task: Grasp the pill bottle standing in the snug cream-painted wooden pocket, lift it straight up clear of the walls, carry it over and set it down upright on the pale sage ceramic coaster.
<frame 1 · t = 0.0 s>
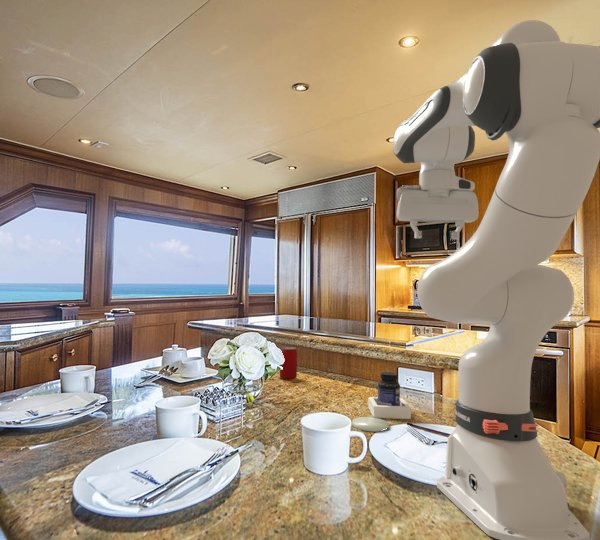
hand: (436, 238, 100), 48 cm above the kitchen island, fingers open, 8 cm apart
coaster: (370, 425, 99), on the kitchen island
pill bottle: (388, 413, 110), resting in pocket
pocket: (388, 412, 110), on the kitchen island
beverage can: (288, 379, 153), on the kitchen island
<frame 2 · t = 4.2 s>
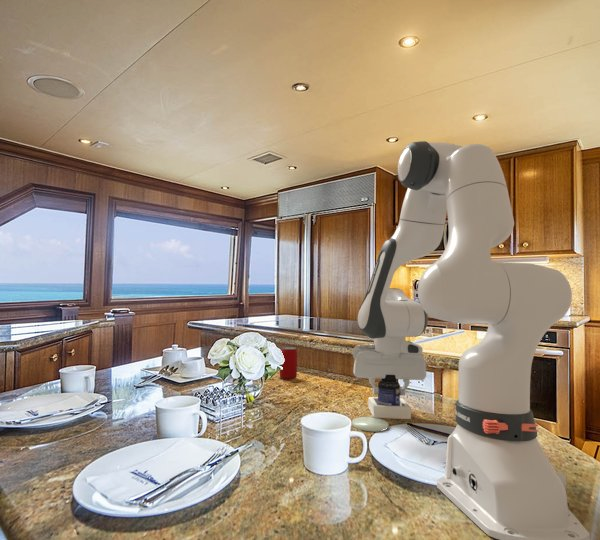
hand: (388, 394, 111), 5 cm above the kitchen island, fingers closed on pill bottle, 6 cm apart
pill bottle: (388, 413, 110), resting in pocket, touching gripper
everything else where it was.
when the fingers open (7 cm above the kitchen island, at t = 10.3 s): pill bottle drops 1 cm, resting on coaster.
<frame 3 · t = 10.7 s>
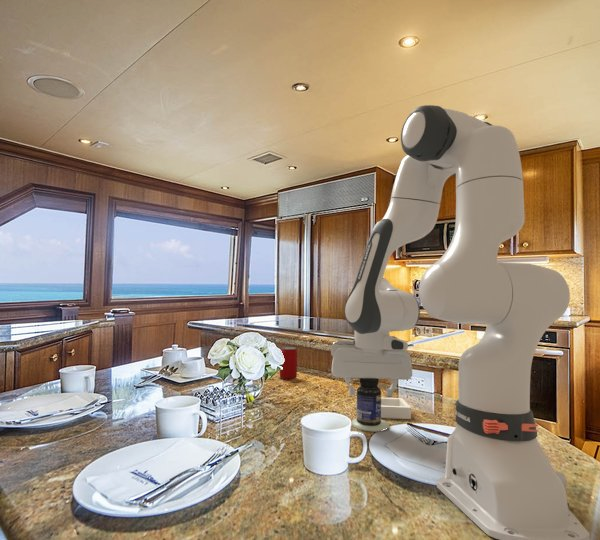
hand: (370, 396, 99), 7 cm above the kitchen island, fingers open, 8 cm apart
pill bottle: (368, 423, 98), point 1 cm above the kitchen island, touching coaster
everything else where it was.
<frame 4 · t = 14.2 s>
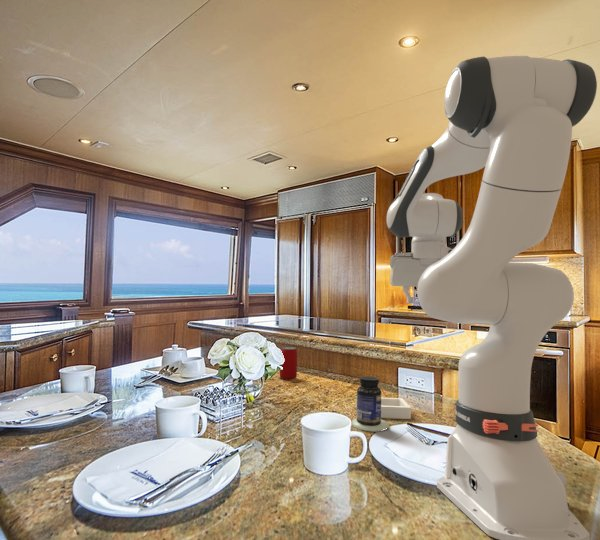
hand: (427, 304, 106), 31 cm above the kitchen island, fingers open, 8 cm apart
nothing on the kitchen island moved.
at the end: pill bottle 0.5 cm from the coaster (horizontally); pill bottle tilted 0°; the gripper is holding nothing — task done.
